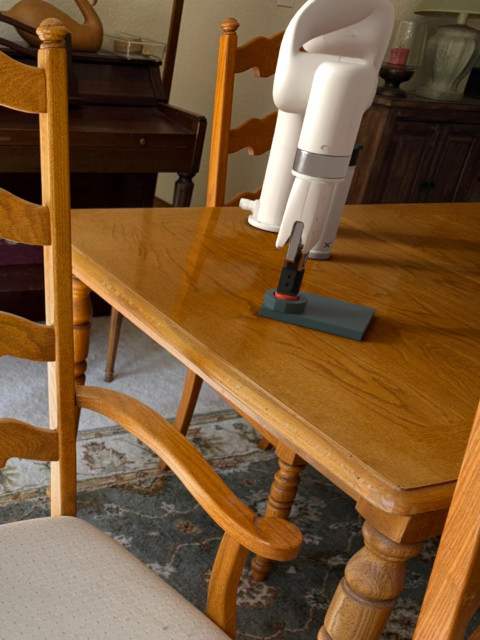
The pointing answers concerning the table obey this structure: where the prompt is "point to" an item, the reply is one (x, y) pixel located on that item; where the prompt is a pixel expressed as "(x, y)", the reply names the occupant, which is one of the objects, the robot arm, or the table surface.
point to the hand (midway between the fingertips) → (287, 293)
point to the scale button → (286, 297)
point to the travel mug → (335, 211)
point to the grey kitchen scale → (319, 313)
